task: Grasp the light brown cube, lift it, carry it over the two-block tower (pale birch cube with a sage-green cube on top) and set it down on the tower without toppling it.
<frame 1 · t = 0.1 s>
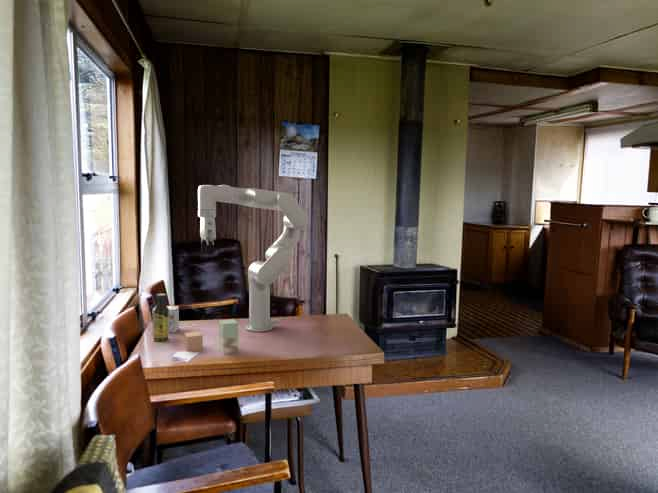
hand: (207, 252, 216), 37 cm above the table, tool pointing down, fingers open, 9 cm apart
sage block: (228, 336, 198), point 6 cm above the table, touching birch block
light bulb box: (165, 331, 225), on the table
light brown cube: (193, 348, 201), on the table
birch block: (228, 350, 198), on the table, touching sage block
sauce bottle: (161, 340, 211), on the table
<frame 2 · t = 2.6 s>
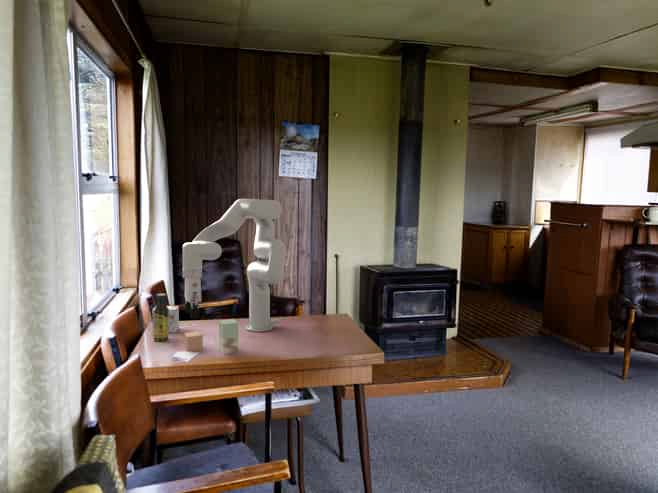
hand: (191, 315, 199), 14 cm above the table, tool pointing down, fingers open, 9 cm apart
nothing on the table moved.
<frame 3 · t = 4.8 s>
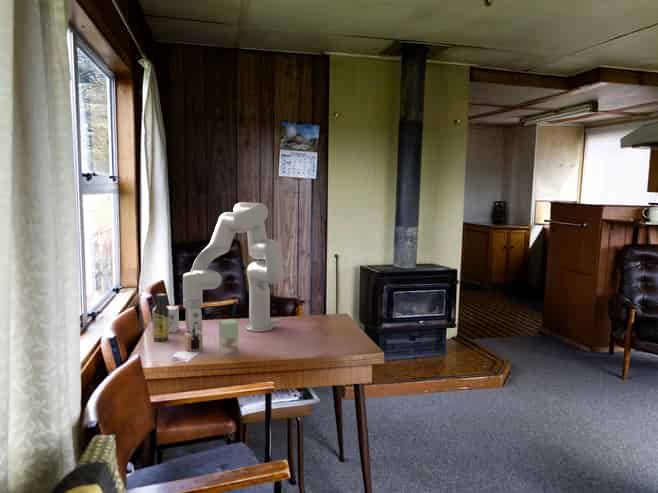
hand: (193, 346, 201), 1 cm above the table, tool pointing down, fingers closed on light brown cube, 6 cm apart
light brown cube: (193, 348, 201), on the table, touching gripper
everything else where it was.
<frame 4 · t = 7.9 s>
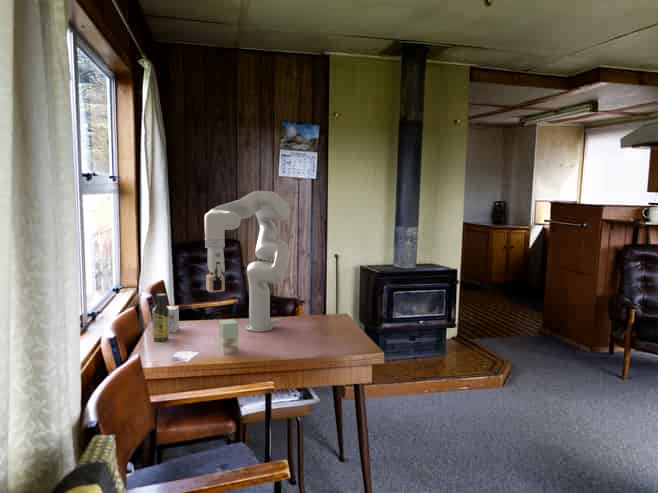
hand: (215, 288, 197), 25 cm above the table, tool pointing down, fingers closed on light brown cube, 6 cm apart
light brown cube: (215, 290, 197), point 24 cm above the table, touching gripper
everything else where it was.
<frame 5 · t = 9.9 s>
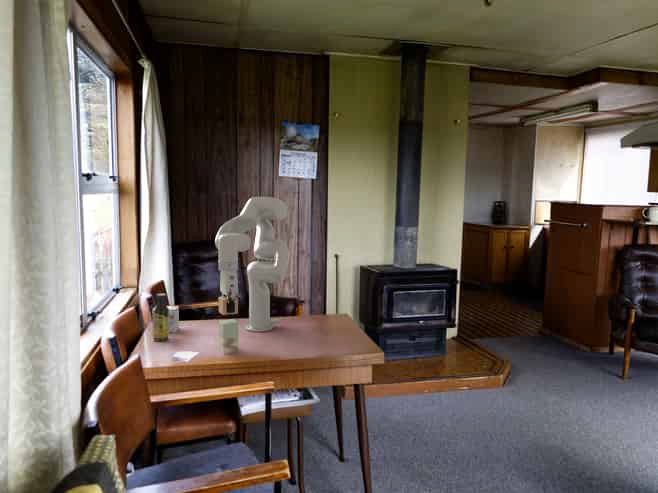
hand: (228, 310, 196), 17 cm above the table, tool pointing down, fingers closed on light brown cube, 6 cm apart
light brown cube: (228, 312, 196), point 16 cm above the table, touching gripper
everything else where it was.
when the fingers open (14 cm above the table, at t = 11.3 s): light brown cube drops 1 cm, resting on sage block.
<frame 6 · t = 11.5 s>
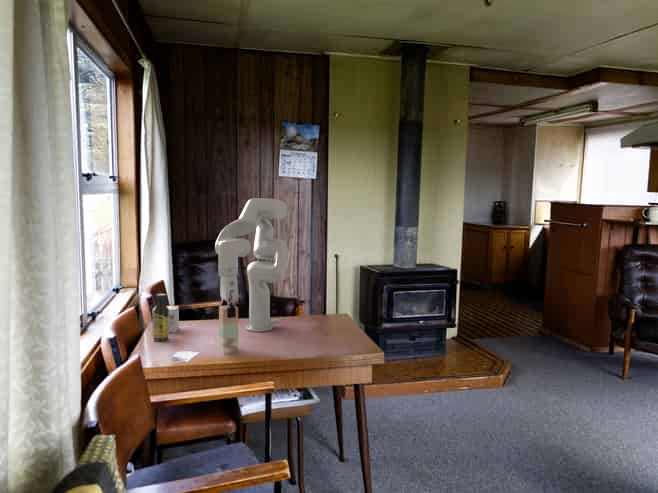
hand: (228, 314, 197), 15 cm above the table, tool pointing down, fingers open, 8 cm apart
sage block: (228, 336, 198), point 6 cm above the table, touching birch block, light brown cube
light brown cube: (228, 321, 197), point 12 cm above the table, touching sage block
everything else where it was.
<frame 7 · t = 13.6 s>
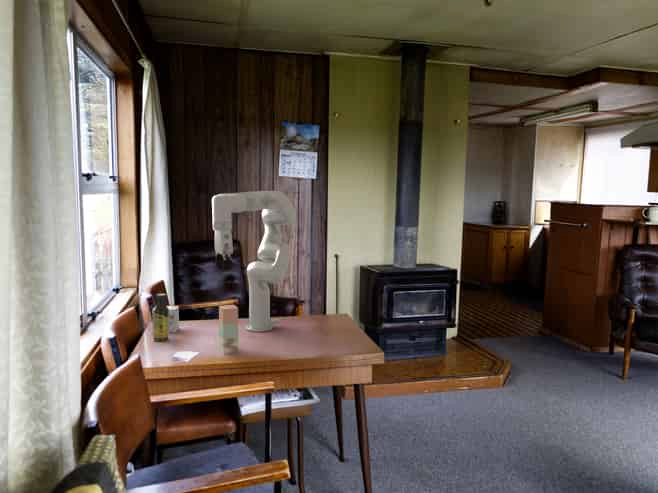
hand: (223, 267, 202), 33 cm above the table, tool pointing down, fingers open, 9 cm apart
nothing on the table moved.
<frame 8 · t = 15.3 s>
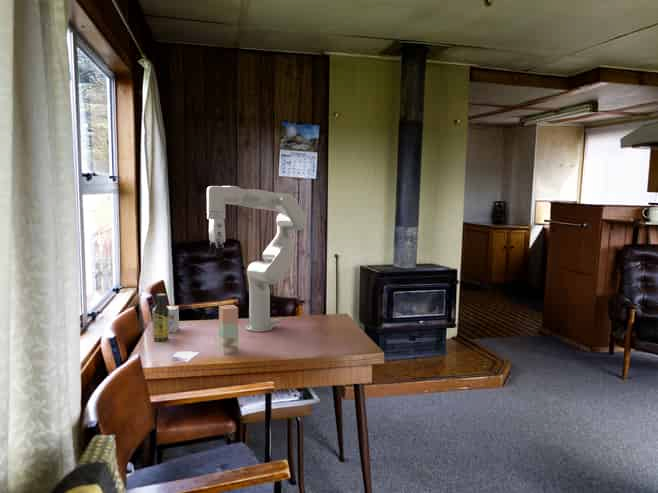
hand: (216, 255, 210), 36 cm above the table, tool pointing down, fingers open, 9 cm apart
nothing on the table moved.
at the end: light brown cube 0.1 cm off-centre on the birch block, point 12.0 cm above the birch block's base; sage block 0.0 cm off-centre on the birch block, point 6.0 cm above the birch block's base; light brown cube tilted 0° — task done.
